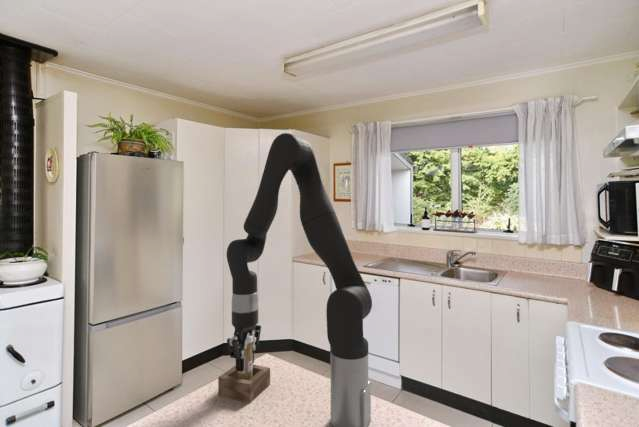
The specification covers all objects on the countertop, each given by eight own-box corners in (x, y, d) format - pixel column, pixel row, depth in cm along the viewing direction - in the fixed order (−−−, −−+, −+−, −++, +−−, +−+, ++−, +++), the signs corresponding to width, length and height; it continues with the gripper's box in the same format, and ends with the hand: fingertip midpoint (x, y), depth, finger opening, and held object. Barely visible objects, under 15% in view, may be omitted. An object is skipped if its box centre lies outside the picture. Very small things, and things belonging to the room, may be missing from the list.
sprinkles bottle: (255, 382, 97) (255, 335, 97) (240, 387, 94) (240, 339, 94) (249, 376, 100) (249, 331, 100) (234, 380, 98) (234, 334, 98)
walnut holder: (270, 384, 100) (270, 367, 100) (249, 403, 90) (249, 384, 90) (240, 378, 104) (240, 361, 104) (218, 395, 94) (218, 377, 94)
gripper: (241, 316, 89) (241, 380, 89) (269, 302, 102) (269, 359, 102) (218, 313, 92) (218, 375, 92) (248, 300, 105) (248, 355, 105)
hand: (245, 366), depth 97 cm, fingers closed on sprinkles bottle, 4 cm apart
